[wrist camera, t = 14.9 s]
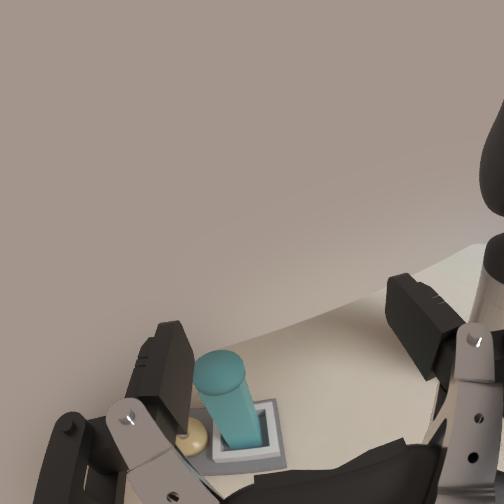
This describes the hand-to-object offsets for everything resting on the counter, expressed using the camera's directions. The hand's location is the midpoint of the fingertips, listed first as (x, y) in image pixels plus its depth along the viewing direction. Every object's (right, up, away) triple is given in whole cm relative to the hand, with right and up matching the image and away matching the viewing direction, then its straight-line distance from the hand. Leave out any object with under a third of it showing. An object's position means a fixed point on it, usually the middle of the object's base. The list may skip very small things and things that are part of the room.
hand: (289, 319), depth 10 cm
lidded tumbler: (-2, -21, +21) cm, 30 cm away
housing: (-5, -23, +21) cm, 31 cm away
